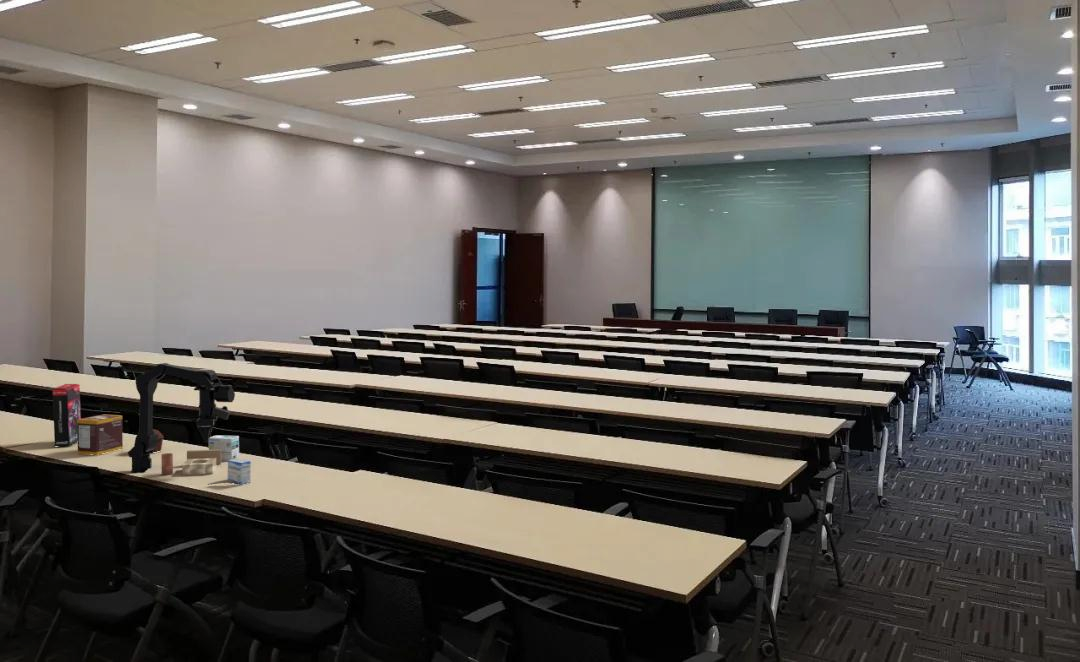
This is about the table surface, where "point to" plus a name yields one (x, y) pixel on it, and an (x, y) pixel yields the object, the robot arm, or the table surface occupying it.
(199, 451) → the backstop board
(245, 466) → the medicine box
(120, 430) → the supplement box
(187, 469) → the beige ashtray
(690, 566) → the table surface
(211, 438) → the light bulb box
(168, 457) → the dowel
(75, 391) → the graphics card box
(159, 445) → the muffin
